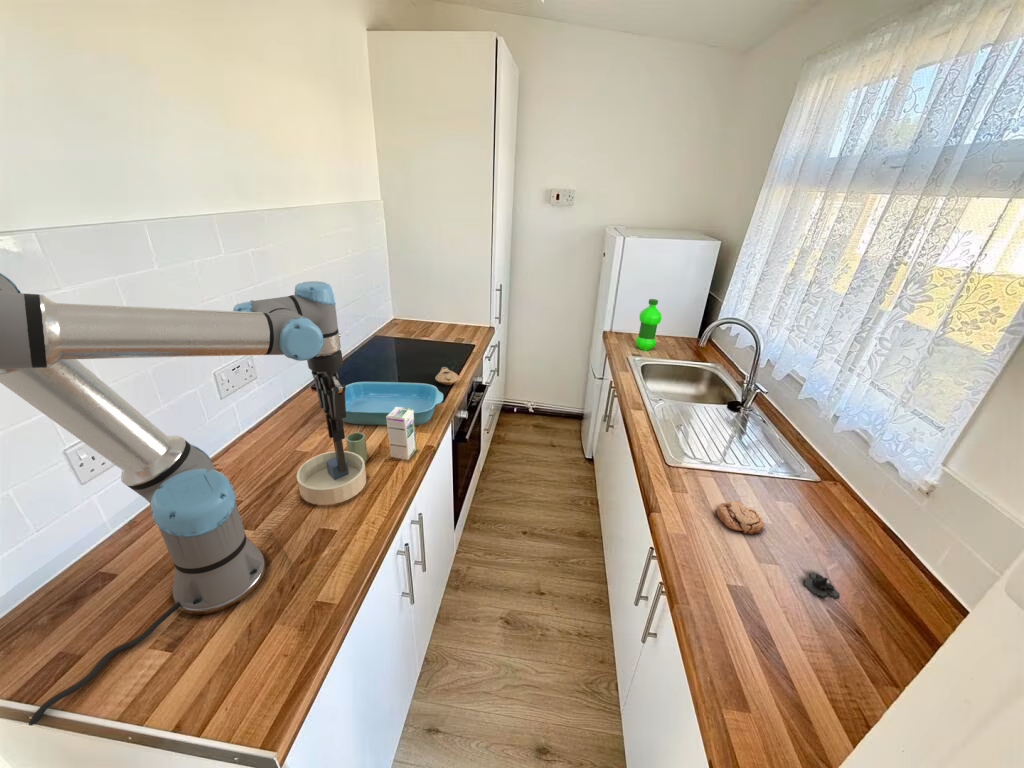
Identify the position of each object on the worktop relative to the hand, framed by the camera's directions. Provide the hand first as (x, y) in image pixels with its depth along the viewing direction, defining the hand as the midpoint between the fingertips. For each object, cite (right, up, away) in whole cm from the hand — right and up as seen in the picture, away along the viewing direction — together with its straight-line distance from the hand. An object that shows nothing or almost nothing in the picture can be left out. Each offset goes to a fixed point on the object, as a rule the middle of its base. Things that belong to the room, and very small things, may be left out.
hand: (337, 437), depth 109 cm
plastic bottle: (+111, +31, +109) cm, 159 cm away
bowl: (-2, -13, +4) cm, 14 cm away
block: (-3, -11, +7) cm, 13 cm away
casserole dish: (+2, +3, +39) cm, 39 cm away
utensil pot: (0, -8, +14) cm, 16 cm away
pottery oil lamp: (+18, +14, +63) cm, 68 cm away
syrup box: (+12, -8, +18) cm, 23 cm away
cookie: (+102, -21, 0) cm, 104 cm away
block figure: (+110, -30, -17) cm, 115 cm away
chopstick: (0, -9, +4) cm, 10 cm away
